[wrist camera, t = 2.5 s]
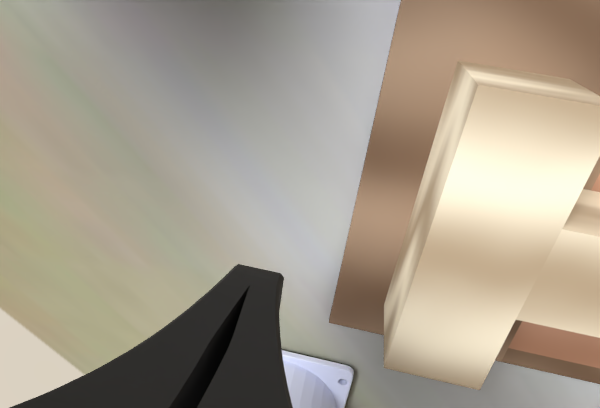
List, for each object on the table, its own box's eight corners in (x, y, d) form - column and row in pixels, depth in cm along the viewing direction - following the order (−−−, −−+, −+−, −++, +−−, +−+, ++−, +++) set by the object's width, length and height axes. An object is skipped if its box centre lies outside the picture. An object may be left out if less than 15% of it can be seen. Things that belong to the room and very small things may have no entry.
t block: (632, 359, 21) (682, 437, 17) (384, 304, 22) (383, 367, 18) (810, 119, 15) (940, 164, 11) (457, 60, 16) (478, 84, 12)
